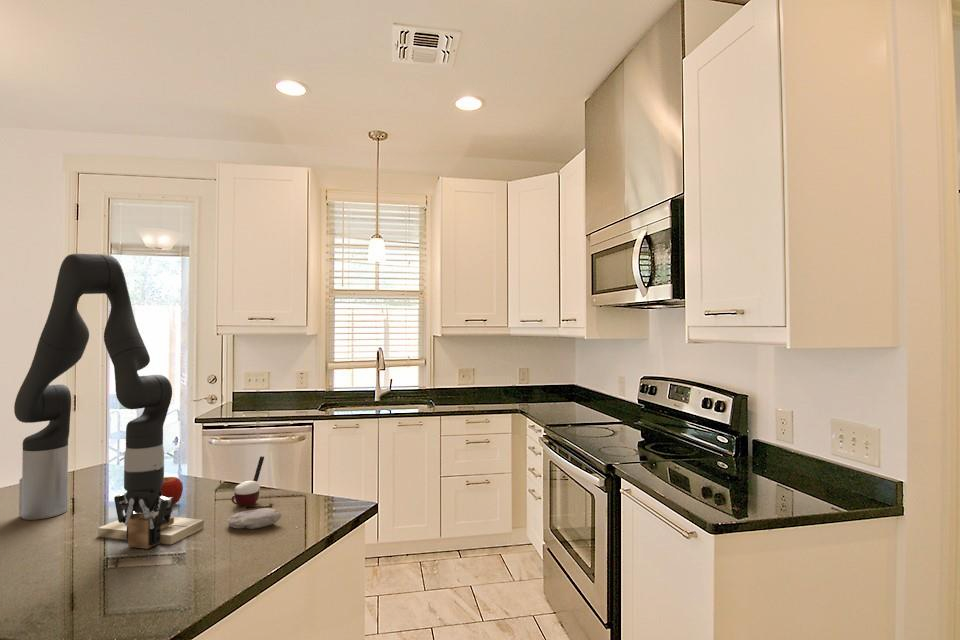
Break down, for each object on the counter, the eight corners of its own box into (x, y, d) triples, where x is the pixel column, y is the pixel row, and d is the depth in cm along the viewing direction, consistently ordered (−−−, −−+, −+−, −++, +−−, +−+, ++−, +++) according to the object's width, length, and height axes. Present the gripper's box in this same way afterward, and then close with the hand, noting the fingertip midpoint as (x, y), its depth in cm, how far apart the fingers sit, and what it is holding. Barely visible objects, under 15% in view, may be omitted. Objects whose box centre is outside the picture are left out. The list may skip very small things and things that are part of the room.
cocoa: (233, 511, 142) (231, 467, 142) (227, 504, 147) (226, 461, 147) (270, 503, 148) (269, 460, 148) (263, 496, 153) (262, 455, 153)
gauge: (128, 546, 118) (128, 515, 118) (161, 531, 127) (161, 502, 127) (147, 548, 117) (147, 517, 117) (179, 533, 126) (179, 504, 126)
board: (98, 536, 124) (98, 527, 124) (134, 521, 134) (134, 513, 134) (171, 544, 120) (171, 535, 120) (203, 528, 130) (203, 519, 130)
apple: (159, 512, 141) (159, 482, 141) (143, 506, 145) (143, 477, 145) (188, 503, 147) (188, 475, 148) (172, 499, 152) (172, 471, 152)
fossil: (218, 513, 129) (249, 502, 138) (218, 531, 129) (249, 519, 138) (258, 516, 125) (287, 505, 134) (258, 535, 125) (287, 522, 134)
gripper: (102, 468, 117) (101, 546, 117) (157, 472, 114) (157, 553, 114) (132, 459, 124) (131, 533, 124) (184, 463, 121) (184, 539, 121)
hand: (143, 542), depth 119 cm, fingers closed on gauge, 5 cm apart
